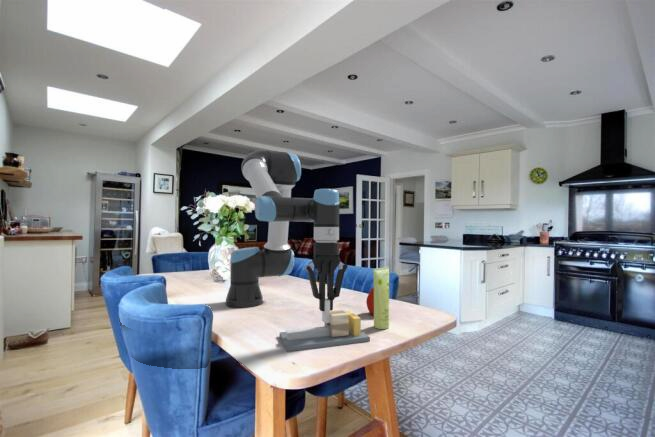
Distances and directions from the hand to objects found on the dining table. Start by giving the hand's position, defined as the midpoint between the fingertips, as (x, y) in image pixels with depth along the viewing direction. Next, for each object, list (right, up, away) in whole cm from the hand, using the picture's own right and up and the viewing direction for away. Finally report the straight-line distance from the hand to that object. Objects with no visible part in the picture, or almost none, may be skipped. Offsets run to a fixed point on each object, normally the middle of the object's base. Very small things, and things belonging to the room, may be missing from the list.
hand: (326, 321), depth 93 cm
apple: (+19, -6, +26) cm, 32 cm away
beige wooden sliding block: (+3, -4, +1) cm, 5 cm away
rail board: (-1, -5, 0) cm, 5 cm away
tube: (+18, -5, +10) cm, 21 cm away
